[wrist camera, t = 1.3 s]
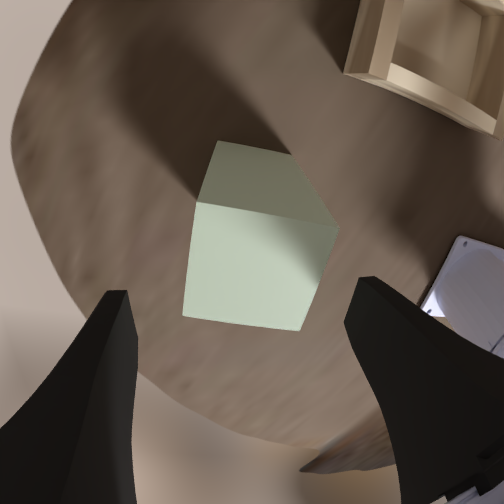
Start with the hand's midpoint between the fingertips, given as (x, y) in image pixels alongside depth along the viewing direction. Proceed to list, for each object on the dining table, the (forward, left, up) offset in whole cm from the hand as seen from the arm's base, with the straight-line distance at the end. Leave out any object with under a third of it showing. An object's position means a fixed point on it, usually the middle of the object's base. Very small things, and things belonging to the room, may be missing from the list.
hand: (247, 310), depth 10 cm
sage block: (0, 0, -11) cm, 11 cm away
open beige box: (-9, -13, -11) cm, 20 cm away
